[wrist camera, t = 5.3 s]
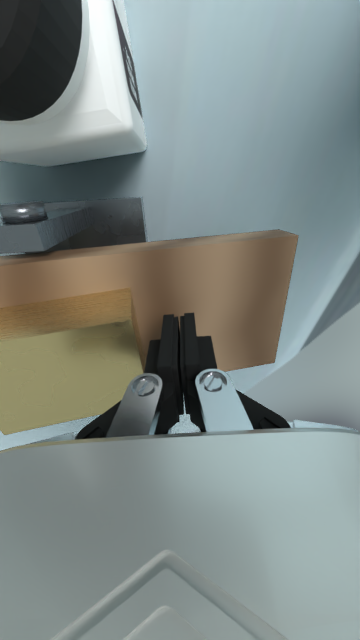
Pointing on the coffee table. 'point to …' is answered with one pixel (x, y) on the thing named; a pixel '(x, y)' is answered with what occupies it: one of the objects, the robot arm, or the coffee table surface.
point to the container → (67, 82)
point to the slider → (67, 358)
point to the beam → (176, 286)
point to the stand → (71, 225)
